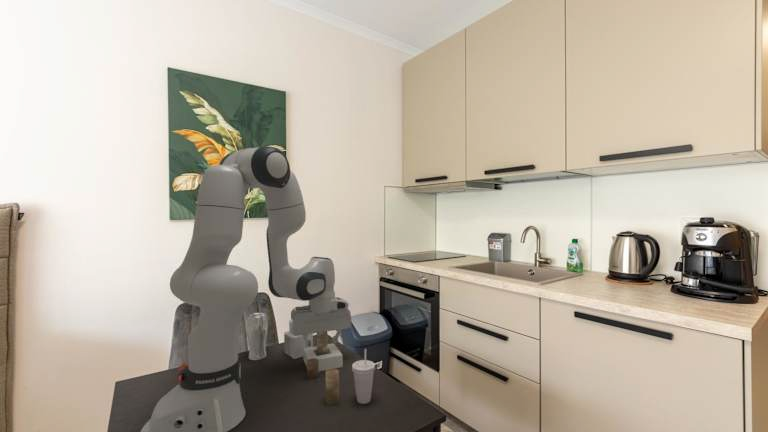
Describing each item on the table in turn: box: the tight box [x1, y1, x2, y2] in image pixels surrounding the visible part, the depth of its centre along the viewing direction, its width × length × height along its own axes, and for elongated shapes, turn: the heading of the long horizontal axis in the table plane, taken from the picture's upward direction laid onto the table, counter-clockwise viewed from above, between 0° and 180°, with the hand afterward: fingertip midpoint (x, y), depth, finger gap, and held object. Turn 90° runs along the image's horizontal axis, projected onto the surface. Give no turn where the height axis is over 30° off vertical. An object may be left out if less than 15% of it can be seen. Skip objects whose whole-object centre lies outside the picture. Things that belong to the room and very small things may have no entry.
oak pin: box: [325, 368, 340, 406], centre depth 91 cm, size 4×4×8 cm
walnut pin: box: [306, 358, 320, 380], centre depth 105 cm, size 4×4×5 cm
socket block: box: [302, 342, 344, 373], centre depth 114 cm, size 11×11×4 cm
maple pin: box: [316, 331, 328, 356], centre depth 114 cm, size 4×4×12 cm
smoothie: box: [351, 348, 376, 405], centre depth 92 cm, size 6×6×14 cm
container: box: [283, 318, 314, 360], centre depth 123 cm, size 8×8×13 cm
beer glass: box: [246, 312, 269, 361], centre depth 120 cm, size 7×7×15 cm
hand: (322, 344), depth 114 cm, fingers open, 8 cm apart
